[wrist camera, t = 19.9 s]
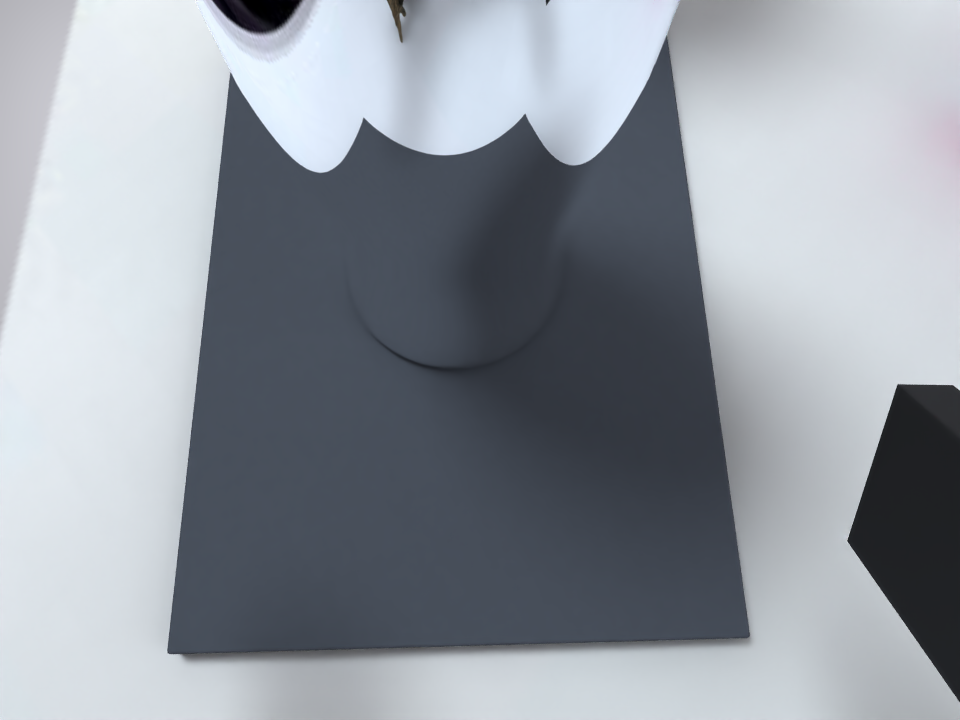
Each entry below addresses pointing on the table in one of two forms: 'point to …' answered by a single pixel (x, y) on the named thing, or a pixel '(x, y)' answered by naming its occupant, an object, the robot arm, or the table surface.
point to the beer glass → (445, 145)
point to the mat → (456, 435)
